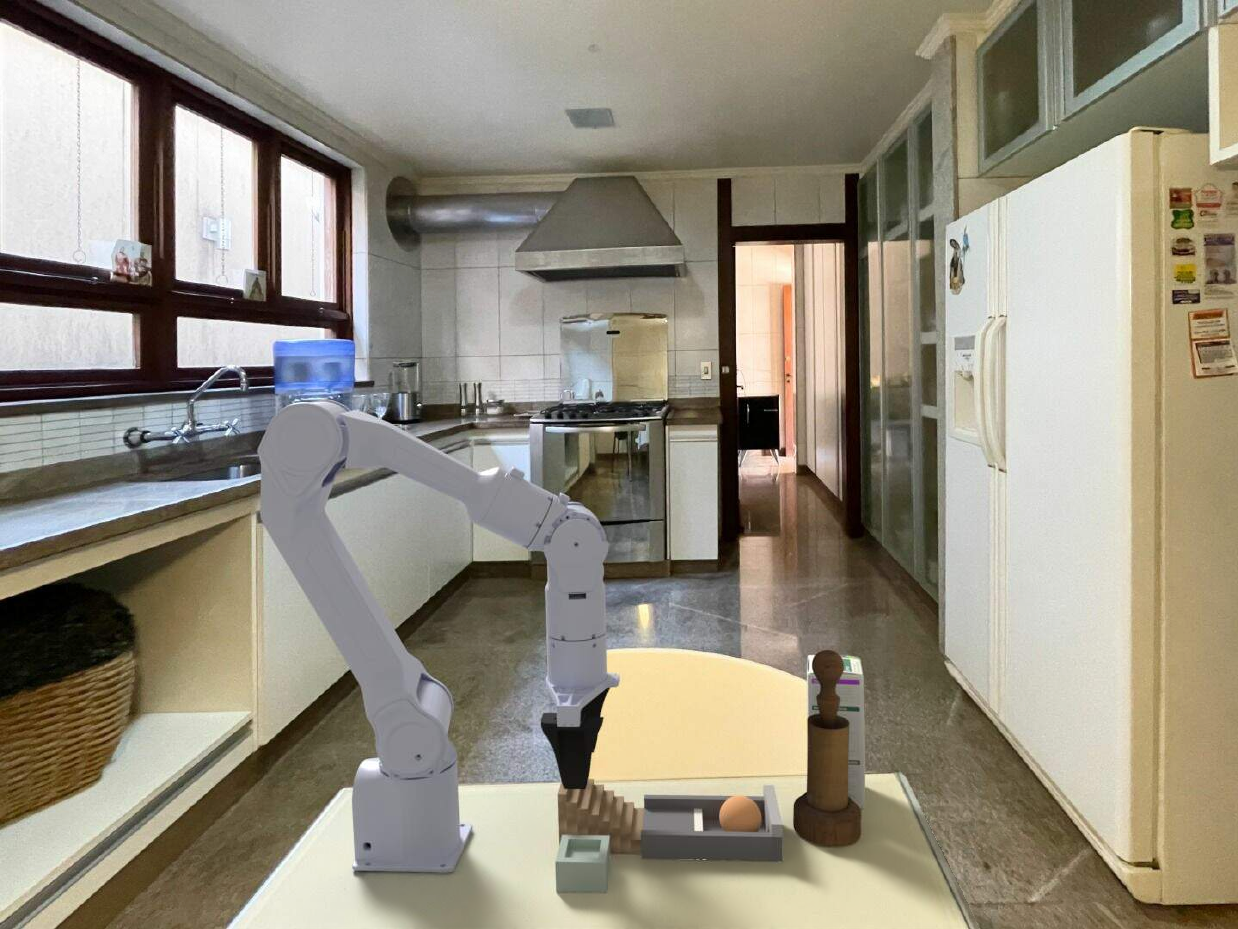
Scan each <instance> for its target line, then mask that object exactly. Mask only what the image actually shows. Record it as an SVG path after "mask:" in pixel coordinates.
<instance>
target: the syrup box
mask: <svg viewBox="0 0 1238 929" xmlns="http://www.w3.org/2000/svg"><path fill="white" fill-rule="evenodd" d="M815 655H816V654H815ZM815 655H814V654H808V656H807V664H806V696H807V698H806V700H807V701H806V702H807V709H806V710H807V713H806V714H807V716H806V717H807V719H808V717H809V716H811V715H814V714H820V713H819V709H818V705H817V700H816V696H817V695H818V694H819V693H820V689H821V687H820V683H819V682H818V680H817V678H816V676H815V674H814V672H813V670H812V661H813V658H814V656H815ZM839 655H840V656H841V658H842V660H843V663H844V671H843V674H842V676H841V677H840V679H839V681H838V683H837V684H836V688H835V691H836V694H837V695H838V696H839V697H840V705H839V709H838V712H837V715H838V716H842V717H844V718H846V719H847V720H848V721H849V758H848V796H849V797H850V798H851V799H852V800H853V801H854V802H855V803H856V804H857V805H858V806H859V807H860V810H865V805H866V801H865V800H866V748H865V747H866V746H865V744H866V743H865V742H866V740H865V738H866V736H865V733H866V732H865V730H866V728H865V727H866V726H865V724H866V723H865V695H864V694H865V692H864V691H865V690H864V682H865V680H864V678H865V676H864V672H863V666H862V660H861V658H860V657H859V656H855V655H854V656H853V655H846V654H839Z"/></svg>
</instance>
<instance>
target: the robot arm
mask: <svg viewBox="0 0 1238 929" xmlns="http://www.w3.org/2000/svg"><path fill="white" fill-rule="evenodd" d="M256 451H257V455H258V460H259V462H260V501H259V502H260V504H259V505H260V506H259V508H260V509H259V514H260V515H259V516H260V520H261V522H262V525H263V527H264V529H266V532H267V533H268V535H269V537H270V538H271V540H272V542H273V543H274V544H275V547H276V548H277V550H278V552H279V553H280V555H281V556H282V558H283V560H284V561H285V563H286V565H287V566H288V568H289V570H290V571H291V573H292V575H293V576H294V578H295V579H296V581H297V583H298V584H299V586H300V588H301V590H302V592H303V593H304V594H305V596H306V598H307V599H308V601H309V603H310V605H311V606H312V608H313V610H314V611H315V613H316V615H317V616H318V618H319V620H320V621H321V622H322V625H323V626H324V628H325V630H326V631H327V633H328V635H329V636H330V637H331V639H332V641H333V643H334V645H335V647H336V648H337V649H338V651H339V653H340V654H341V656H342V657H343V659H344V661H345V663H346V664H347V666H348V667H349V669H350V671H351V673H352V674H353V676H354V678H355V679H356V681H357V682H358V684H359V686H360V689H361V693H362V700H363V706H364V711H365V715H366V716H365V717H366V719H367V720H368V722H369V723H370V725H371V727H372V728H373V731H374V736H375V737H374V738H375V750H376V755H377V757H373V758H371V757H370V758H366V759H364V760H363V761H362V762H360V764H359V767H358V769H357V771H356V773H355V777H354V779H353V780H354V781H353V785H352V793H351V794H352V795H351V809H352V810H351V811H352V825H353V826H352V829H353V846H354V848H353V849H354V861H353V863H352V865H351V866H352V870H354V871H357V872H358V871H363V872H364V871H366V872H369V871H370V872H416V873H417V872H418V873H451V872H454V870H455V869H456V866H457V865H458V864H457V863H458V862H459V859H460V858H461V855H462V853H463V851H464V848H465V846H466V845H467V842H468V840H469V838H470V836H471V833H472V830H473V824H472V823H469V822H461V821H460V820H461V818H460V801H459V800H460V798H459V796H460V795H459V778H458V777H459V776H458V752H457V751H458V750H457V749H456V746H454V744H453V743H452V742H451V740H450V739H449V737H448V733H449V726H450V721H451V719H452V717H453V713H454V700H453V695H452V694H451V691H450V690H449V688H448V687H447V686H446V685H445V684H444V683H443V682H441V681H440V680H438V679H436V678H434V677H433V676H432V675H430V674H429V673H428V671H427V670H426V669H425V667H424V665H423V664H422V662H421V661H420V660H419V659H418V658H416V657H415V656H414V655H412V654H411V653H410V652H408V650H407V648H406V647H405V645H404V644H403V642H402V640H401V639H400V637H399V635H398V633H397V632H396V630H395V629H394V627H393V625H392V623H391V621H390V620H389V618H388V617H387V615H386V612H385V611H384V610H383V608H382V606H381V605H380V603H379V601H378V599H377V598H376V596H375V594H374V592H373V591H372V589H371V587H370V586H369V584H368V583H367V580H366V579H365V578H364V575H363V574H362V572H361V571H360V569H359V567H358V566H357V564H356V562H355V560H354V559H353V557H352V555H351V553H350V552H349V550H348V548H347V547H346V544H345V543H344V541H343V540H342V538H341V537H340V535H339V533H338V532H337V530H336V528H335V527H334V525H333V523H332V521H331V519H330V518H329V516H328V515H327V513H326V509H325V508H326V506H327V503H328V500H329V497H330V494H331V491H332V489H333V486H334V483H335V481H336V480H335V479H336V476H337V475H338V474H339V473H340V472H341V470H342V469H343V467H344V468H345V470H352V469H364V468H365V469H367V468H377V467H378V468H379V467H381V468H382V467H383V468H387V469H389V470H390V471H393V472H395V473H397V474H400V475H401V476H404V477H406V478H408V479H410V480H413V481H415V482H418V483H419V484H422V485H424V486H427V487H429V488H431V489H434V490H435V491H438V492H439V493H441V494H445V495H446V496H449V497H451V498H453V499H455V500H458V501H460V502H461V503H463V504H464V506H465V509H466V511H467V515H468V518H469V520H470V522H471V523H473V524H474V525H476V526H479V527H481V528H483V529H485V530H487V531H489V532H490V533H493V534H495V535H497V536H499V537H500V538H501V537H502V538H503V539H505V540H507V541H509V542H512V544H513V543H514V544H516V545H518V546H520V547H521V548H523V549H526V550H527V551H530V552H543V554H544V557H545V559H546V567H547V568H546V570H547V571H546V572H547V582H546V585H545V586H544V587H545V588H544V595H545V596H544V597H545V600H544V602H545V631H546V632H545V633H546V636H545V637H546V638H545V639H546V660H547V668H546V670H547V675H546V677H545V688H546V689H547V691H548V694H549V695H550V696H551V698H552V700H553V701H554V704H555V705H556V712H543V713H542V715H541V718H540V729H541V731H542V733H543V734H544V736H545V737H546V739H547V741H548V742H549V744H550V746H551V748H552V751H553V754H554V757H555V761H556V764H557V769H558V773H559V777H560V781H562V784H563V787H564V789H586V786H587V782H588V779H590V778H589V777H590V771H591V764H592V763H591V762H592V755H593V753H595V750H596V746H597V741H598V737H599V733H600V730H601V728H602V726H603V723H604V720H605V719H604V718H605V717H604V716H601V715H602V710H603V706H604V704H605V703H604V702H605V700H606V698H607V695H608V694H609V691H610V690H611V688H617V687H619V685H620V674H618V673H611V672H608V655H607V654H608V652H607V610H606V609H607V607H606V603H607V602H606V585H605V583H604V575H605V567H604V564H603V563H604V561H605V560H606V557H608V553H609V549H610V543H609V541H607V535H606V531H605V529H604V527H603V526H602V524H601V523H600V521H599V519H598V517H597V516H596V515H595V514H594V513H593V512H592V511H591V510H590V509H588V508H586V507H585V505H583V504H582V503H581V502H577V501H571V498H570V496H569V495H567V494H565V493H563V492H559V494H558V495H556V494H554V493H552V492H550V491H548V490H546V489H544V488H542V487H541V486H538V485H537V484H535V483H532V482H530V481H529V480H526V479H525V474H526V473H525V471H523V470H521V469H519V468H517V467H516V466H511V468H510V471H509V470H507V469H505V468H503V467H502V466H496V467H492V468H490V469H486V470H484V471H478V470H477V469H475V468H473V467H471V466H469V465H468V464H466V463H463V462H462V461H460V460H458V459H456V458H454V457H453V456H450V455H449V454H447V453H445V452H443V451H442V450H440V449H438V448H436V447H435V446H433V445H431V444H429V443H427V442H425V441H423V440H421V439H419V438H418V437H416V436H415V435H412V434H411V433H409V432H408V431H405V430H404V429H401V428H400V427H398V426H396V425H394V424H392V423H390V422H388V421H386V420H383V419H381V418H378V417H377V416H374V415H372V414H370V413H367V412H363V411H360V410H357V409H354V410H350V409H349V408H348V407H347V406H346V405H344V404H343V403H340V402H338V401H336V400H332V399H317V400H314V401H311V402H296V403H291V404H288V405H286V406H285V407H283V408H282V409H280V410H279V411H277V413H275V414H274V416H272V418H271V420H270V421H269V423H268V426H267V428H266V429H265V433H264V434H263V437H262V438H261V441H260V443H259V445H258V448H257V450H256Z"/></svg>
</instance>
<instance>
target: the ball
mask: <svg viewBox="0 0 1238 929" xmlns="http://www.w3.org/2000/svg"><path fill="white" fill-rule="evenodd" d="M732 796H733V797H731V798H729V799H727V800H726V801H725V802H724V804H723V805H722V807H721V810H720V815H719V819H720V824H721V827H722V829H723V830H724V831H728V832H758V830H759V828H760V825H761V813H760V810H759V808H758V806H757V804H756V803H755V802H754V801H753V800H751V799H750V798H748V797H745V796H746V795H732Z"/></svg>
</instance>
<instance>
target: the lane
mask: <svg viewBox="0 0 1238 929" xmlns="http://www.w3.org/2000/svg"><path fill="white" fill-rule="evenodd" d="M733 796H734V795H701V794H700V795H694V794H691V795H690V794H688V795H687V794H684V795H683V794H643V808H644V815H643V827H642V830H641V854H640V859H641V860H671V861H674V860H677V861H679V860H678V859H693V860H692V861H697V860H696V859H699V860H698V861H704V860H703V859H706V860H705V861H719V860H725V861H727V862H731V861H732V862H773V863H775V862H777V863H780V862H781V863H782V862H783V822H782V817H781V816H782V815H781V813H780V807H779V803H778V799H777V794H776V788H775V785H774V784H763V796H761V795H759V796H758V795H744V796H745V797H748V798H750V799H751V800H753V801H754V802H755V803H756V804H757V806H758V808H759V810H760V813H761V825H760V828H759V830H758V832H728V831H724V830H723V829H722V827H721V824H720V819H719V815H720V810H721V807H722V805H723V804H724V802H725V801H726V800H727V799H729V798H731V797H733Z"/></svg>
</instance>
